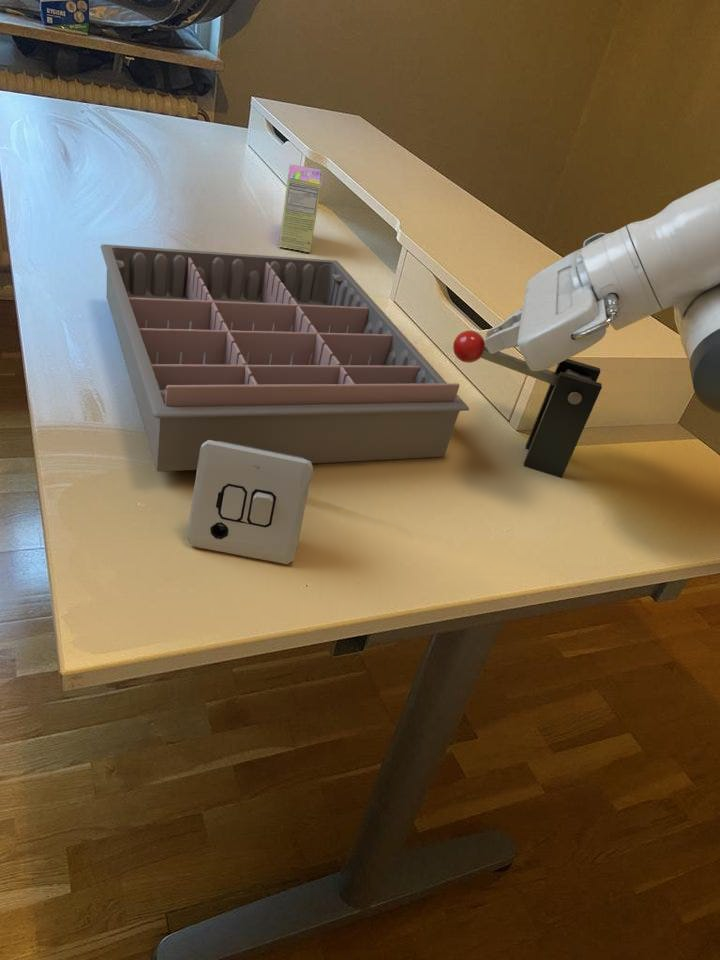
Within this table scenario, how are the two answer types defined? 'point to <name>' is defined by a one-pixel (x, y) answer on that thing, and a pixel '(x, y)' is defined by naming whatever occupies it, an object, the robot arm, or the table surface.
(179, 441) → the organizer tray
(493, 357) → the switch lever
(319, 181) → the box
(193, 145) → the table surface
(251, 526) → the electrical switch
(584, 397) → the switch bracket
